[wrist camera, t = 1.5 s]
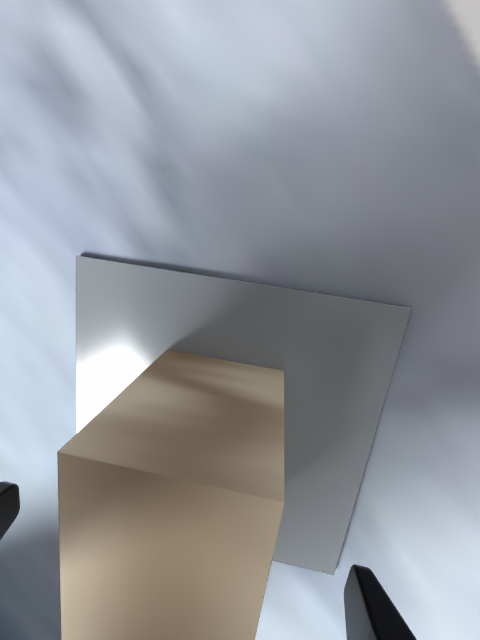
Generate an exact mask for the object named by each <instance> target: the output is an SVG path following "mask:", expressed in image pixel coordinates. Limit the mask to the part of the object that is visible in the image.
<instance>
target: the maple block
mask: <svg viewBox="0 0 480 640" xmlns="http://www.w3.org/2000/svg"><path fill="white" fill-rule="evenodd" d="M57 454H58V501H59V547H60V593H61V640H255V636H256V631H257V626H258V622H259V617H260V613H261V608H262V603H263V599H264V594H265V590H266V585H267V581H268V576H269V571H270V567H271V562H272V558H273V553H274V548H275V544H276V539H277V535H278V530H279V525H280V521H281V516H282V512H283V507H284V371H282V370H277V369H271V368H266V367H260V366H255V365H249V364H244V363H238V362H233V361H227V360H222V359H216V358H211V357H206V356H200V355H195V354H189V353H184V352H178V351H173V350H166V351H165V352H164V353H163V354H162V355H160V356H159V357H158V358H157V359H156V360H155V361H154V362H153V363H152V364H151V365H150V366H149V367H148V368H147V369H145V370H144V371H143V372H142V373H141V374H140V375H139V376H138V377H137V378H136V379H135V380H134V381H133V382H132V383H131V384H129V385H128V386H127V387H126V388H125V389H124V390H123V391H122V392H121V393H120V394H119V395H118V396H117V397H116V398H114V399H113V400H112V401H111V402H110V403H109V404H108V405H107V406H106V407H105V408H104V409H103V410H102V411H101V412H100V413H98V414H97V415H96V416H95V417H94V418H93V419H92V420H91V421H90V422H89V423H88V424H87V425H86V426H85V427H83V428H82V429H81V430H80V431H79V432H78V433H77V434H76V435H75V436H74V437H73V438H72V439H71V440H70V441H69V442H67V443H66V444H65V445H64V446H63V447H62V448H61V449H60V450H59V451H58V452H57Z"/></svg>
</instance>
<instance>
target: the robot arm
mask: <svg viewBox="0 0 480 640" xmlns="http://www.w3.org/2000/svg"><path fill="white" fill-rule="evenodd" d="M19 509H20V500H19V487H18V485H17V484H14V483H10V482H0V540H1V538H2V537H3V536H4V534H5V533H6V531H7V530H8V529H9V527H10V526H11V524H12V523H13V521H14V520H15V519H16V517H17V515H18V513H19ZM344 606H345V619H346V632H347V640H417V639H416V638H415V636H414V635H413V633H412V632H411V630H410V629H409V627H408V626H407V624H406V623H405V621H404V619H403V618H402V616H401V615H400V613H399V612H398V610H397V609H396V607H395V606H394V604H393V603H392V601H391V600H390V598H389V596H388V595H387V593H386V592H385V590H384V589H383V587H382V586H381V584H380V583H379V581H378V580H377V578H376V577H375V575H374V573H373V572H372V571H371V570H370V569H369V568H367V567H364V566H359V565H352V567H351V569H350V572H349V575H348V578H347V582H346V585H345V589H344Z"/></svg>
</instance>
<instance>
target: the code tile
mask: <svg viewBox="0 0 480 640" xmlns="http://www.w3.org/2000/svg"><path fill="white" fill-rule="evenodd" d="M411 310H412V309H411V308H409V307H403V306H397V305H390V304H384V303H378V302H371V301H365V300H358V299H352V298H346V297H339V296H333V295H327V294H320V293H314V292H308V291H301V290H295V289H289V288H282V287H276V286H270V285H263V284H257V283H250V282H244V281H238V280H231V279H225V278H219V277H212V276H206V275H200V274H193V273H187V272H181V271H174V270H168V269H161V268H155V267H149V266H142V265H136V264H130V263H123V262H117V261H111V260H104V259H98V258H92V257H85V256H76V434H77V433H78V432H79V431H80V430H81V429H82V428H83V427H85V426H86V425H87V424H88V423H89V422H90V421H91V420H92V419H93V418H94V417H95V416H96V415H97V414H98V413H100V412H101V411H102V410H103V409H104V408H105V407H106V406H107V405H108V404H109V403H110V402H111V401H112V400H113V399H114V398H116V397H117V396H118V395H119V394H120V393H121V392H122V391H123V390H124V389H125V388H126V387H127V386H128V385H129V384H131V383H132V382H133V381H134V380H135V379H136V378H137V377H138V376H139V375H140V374H141V373H142V372H143V371H144V370H145V369H147V368H148V367H149V366H150V365H151V364H152V363H153V362H154V361H155V360H156V359H157V358H158V357H159V356H160V355H162V354H163V353H164V352H165V351H166V350H173V351H178V352H184V353H189V354H195V355H200V356H206V357H211V358H216V359H222V360H227V361H233V362H238V363H244V364H249V365H255V366H260V367H266V368H271V369H277V370H282V371H284V507H283V512H282V516H281V521H280V525H279V530H278V535H277V539H276V544H275V548H274V553H273V558H272V560H273V561H277V562H281V563H285V564H290V565H294V566H298V567H302V568H306V569H310V570H314V571H319V572H323V573H327V574H331V575H334V573H335V570H336V566H337V563H338V559H339V556H340V553H341V549H342V546H343V542H344V539H345V536H346V532H347V529H348V525H349V522H350V518H351V515H352V512H353V508H354V505H355V501H356V498H357V494H358V491H359V488H360V484H361V481H362V477H363V474H364V471H365V467H366V464H367V460H368V457H369V453H370V450H371V447H372V443H373V440H374V436H375V433H376V429H377V426H378V423H379V419H380V416H381V412H382V409H383V406H384V402H385V399H386V395H387V392H388V388H389V385H390V382H391V378H392V375H393V371H394V368H395V364H396V361H397V358H398V354H399V351H400V347H401V344H402V341H403V337H404V334H405V330H406V327H407V323H408V320H409V317H410V313H411Z"/></svg>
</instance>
